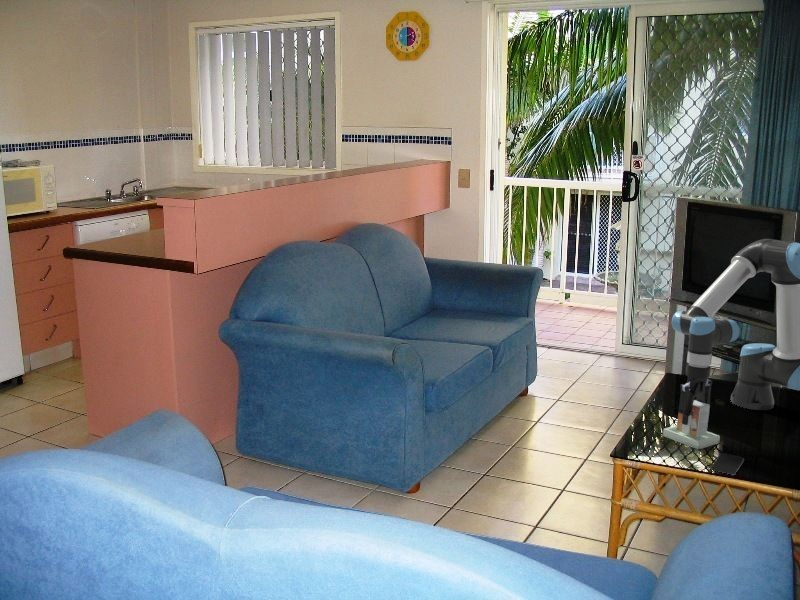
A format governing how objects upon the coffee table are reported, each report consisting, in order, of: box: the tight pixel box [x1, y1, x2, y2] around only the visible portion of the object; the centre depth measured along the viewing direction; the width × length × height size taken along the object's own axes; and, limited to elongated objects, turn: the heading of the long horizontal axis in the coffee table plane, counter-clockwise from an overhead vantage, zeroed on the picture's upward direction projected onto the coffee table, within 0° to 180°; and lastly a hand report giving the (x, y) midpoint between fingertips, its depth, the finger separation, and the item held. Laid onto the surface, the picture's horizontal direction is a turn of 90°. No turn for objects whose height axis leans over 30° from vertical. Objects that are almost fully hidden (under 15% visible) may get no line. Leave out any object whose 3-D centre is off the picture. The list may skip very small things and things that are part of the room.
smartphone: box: [710, 452, 745, 476], centre depth 267 cm, size 7×1×15 cm
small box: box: [676, 399, 711, 437], centre depth 287 cm, size 8×6×10 cm
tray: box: [662, 424, 721, 450], centre depth 288 cm, size 11×14×2 cm
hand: (691, 431), depth 288 cm, fingers closed on small box, 6 cm apart
